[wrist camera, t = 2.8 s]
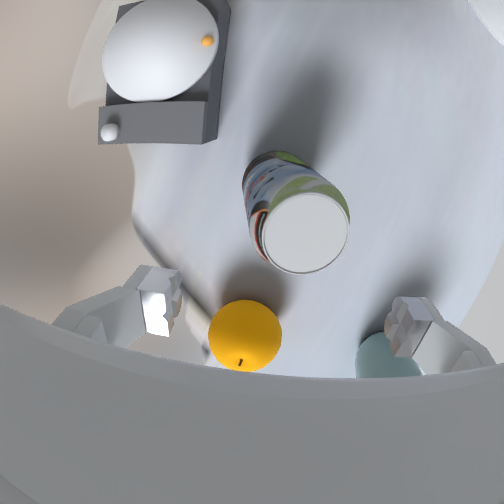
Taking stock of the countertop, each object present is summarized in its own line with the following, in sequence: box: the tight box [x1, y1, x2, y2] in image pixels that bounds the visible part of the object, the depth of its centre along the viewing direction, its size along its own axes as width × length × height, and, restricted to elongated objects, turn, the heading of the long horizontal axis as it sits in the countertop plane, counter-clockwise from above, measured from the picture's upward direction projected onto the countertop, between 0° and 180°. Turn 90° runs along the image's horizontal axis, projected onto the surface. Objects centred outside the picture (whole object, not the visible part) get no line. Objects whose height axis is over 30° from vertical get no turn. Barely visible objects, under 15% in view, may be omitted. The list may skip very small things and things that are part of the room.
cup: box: [355, 332, 422, 378], centre depth 29 cm, size 8×8×10 cm
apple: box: [208, 300, 282, 372], centre depth 29 cm, size 8×8×8 cm
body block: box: [98, 0, 231, 145], centre depth 18 cm, size 13×10×6 cm
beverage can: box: [242, 151, 350, 275], centre depth 20 cm, size 6×7×12 cm
